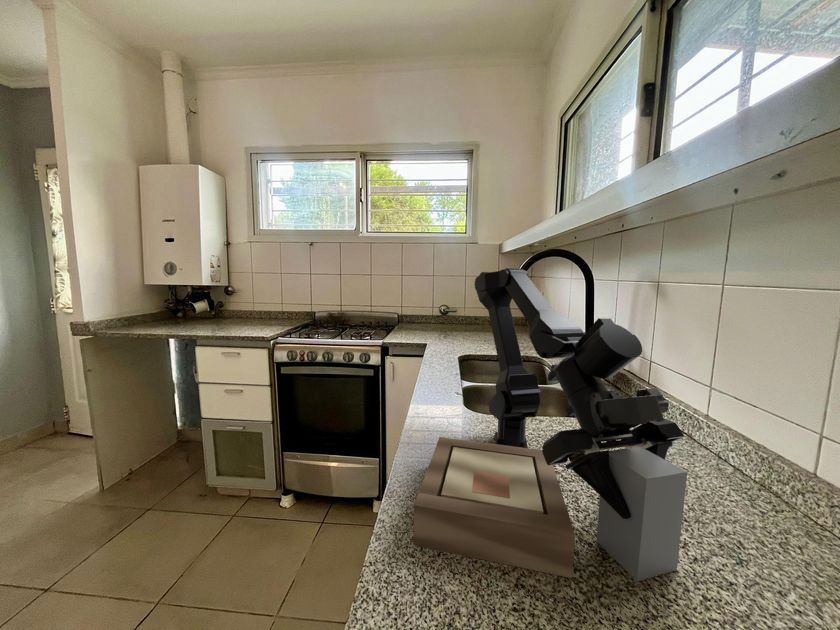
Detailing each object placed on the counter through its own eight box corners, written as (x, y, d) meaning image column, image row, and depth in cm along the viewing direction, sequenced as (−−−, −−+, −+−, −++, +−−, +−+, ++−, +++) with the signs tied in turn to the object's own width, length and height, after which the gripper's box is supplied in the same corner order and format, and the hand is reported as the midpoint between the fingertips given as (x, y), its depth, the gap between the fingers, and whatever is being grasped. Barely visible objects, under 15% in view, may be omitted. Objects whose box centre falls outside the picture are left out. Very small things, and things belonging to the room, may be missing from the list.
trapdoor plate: (453, 452, 56) (453, 446, 56) (531, 463, 53) (532, 457, 53) (440, 501, 43) (441, 493, 43) (542, 518, 40) (543, 510, 40)
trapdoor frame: (438, 465, 60) (439, 437, 59) (546, 481, 56) (548, 450, 55) (413, 545, 41) (414, 505, 41) (571, 578, 37) (575, 534, 37)
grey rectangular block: (596, 540, 43) (603, 451, 42) (632, 532, 44) (640, 446, 43) (637, 581, 37) (646, 478, 36) (676, 570, 38) (687, 471, 37)
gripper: (561, 370, 40) (633, 515, 30) (676, 363, 44) (770, 487, 35) (522, 407, 48) (569, 531, 39) (623, 398, 53) (687, 506, 43)
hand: (649, 513), depth 39 cm, fingers closed on grey rectangular block, 6 cm apart
